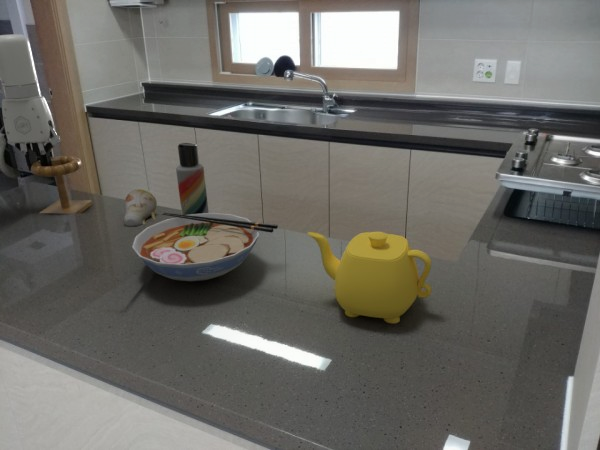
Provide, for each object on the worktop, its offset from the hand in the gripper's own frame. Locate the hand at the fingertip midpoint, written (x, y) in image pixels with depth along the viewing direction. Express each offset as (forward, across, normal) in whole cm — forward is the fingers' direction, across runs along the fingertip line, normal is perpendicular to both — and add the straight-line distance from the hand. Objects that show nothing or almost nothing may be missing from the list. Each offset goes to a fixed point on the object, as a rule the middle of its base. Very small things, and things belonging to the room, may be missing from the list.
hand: (40, 168), depth 129 cm
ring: (-1, +4, 0) cm, 4 cm away
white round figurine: (+11, +26, -7) cm, 29 cm away
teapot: (+11, +78, -40) cm, 89 cm away
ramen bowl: (+11, +47, -30) cm, 57 cm away
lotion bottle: (+11, +41, -12) cm, 44 cm away
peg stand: (+11, +4, 0) cm, 12 cm away
